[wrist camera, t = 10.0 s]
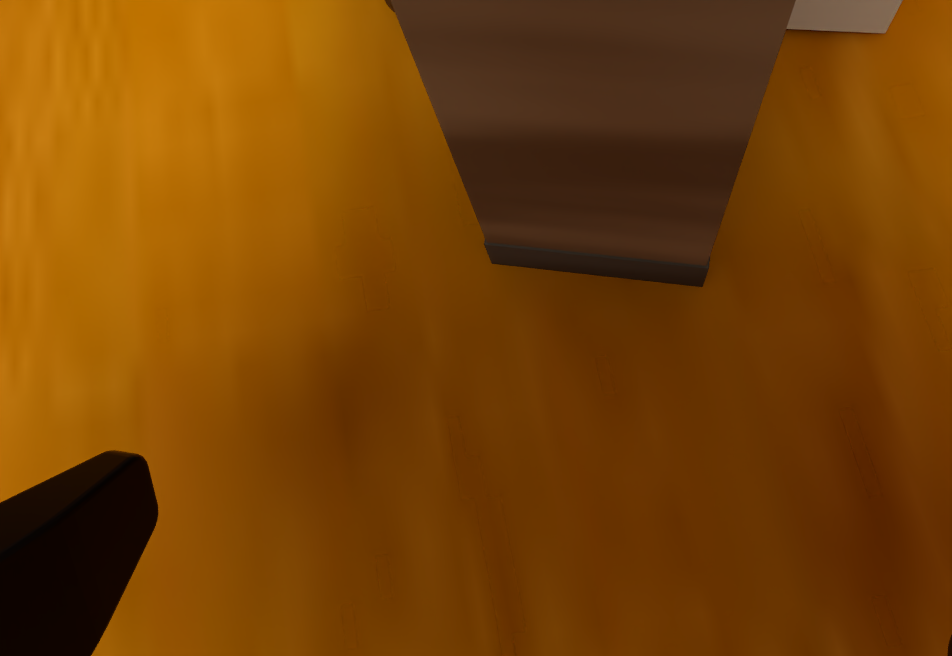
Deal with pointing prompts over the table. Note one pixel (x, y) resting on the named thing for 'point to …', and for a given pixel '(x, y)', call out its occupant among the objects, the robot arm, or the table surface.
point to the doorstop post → (597, 122)
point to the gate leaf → (837, 15)
